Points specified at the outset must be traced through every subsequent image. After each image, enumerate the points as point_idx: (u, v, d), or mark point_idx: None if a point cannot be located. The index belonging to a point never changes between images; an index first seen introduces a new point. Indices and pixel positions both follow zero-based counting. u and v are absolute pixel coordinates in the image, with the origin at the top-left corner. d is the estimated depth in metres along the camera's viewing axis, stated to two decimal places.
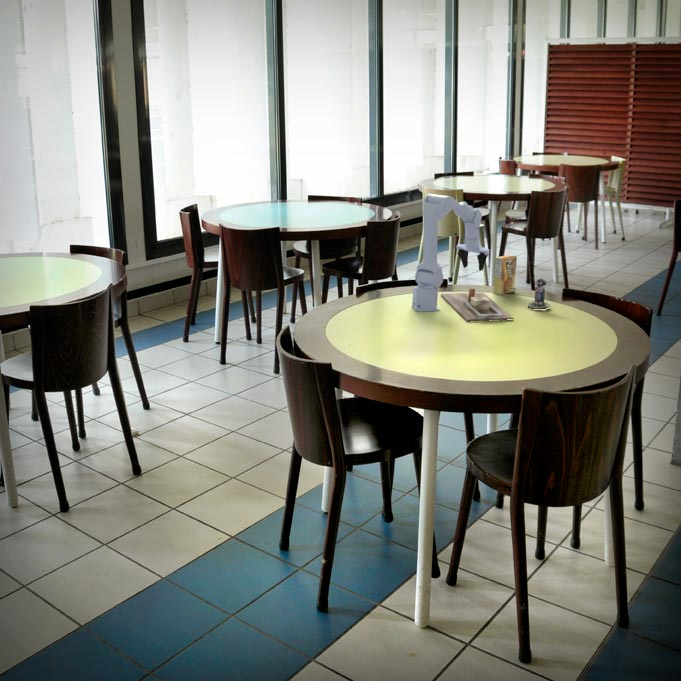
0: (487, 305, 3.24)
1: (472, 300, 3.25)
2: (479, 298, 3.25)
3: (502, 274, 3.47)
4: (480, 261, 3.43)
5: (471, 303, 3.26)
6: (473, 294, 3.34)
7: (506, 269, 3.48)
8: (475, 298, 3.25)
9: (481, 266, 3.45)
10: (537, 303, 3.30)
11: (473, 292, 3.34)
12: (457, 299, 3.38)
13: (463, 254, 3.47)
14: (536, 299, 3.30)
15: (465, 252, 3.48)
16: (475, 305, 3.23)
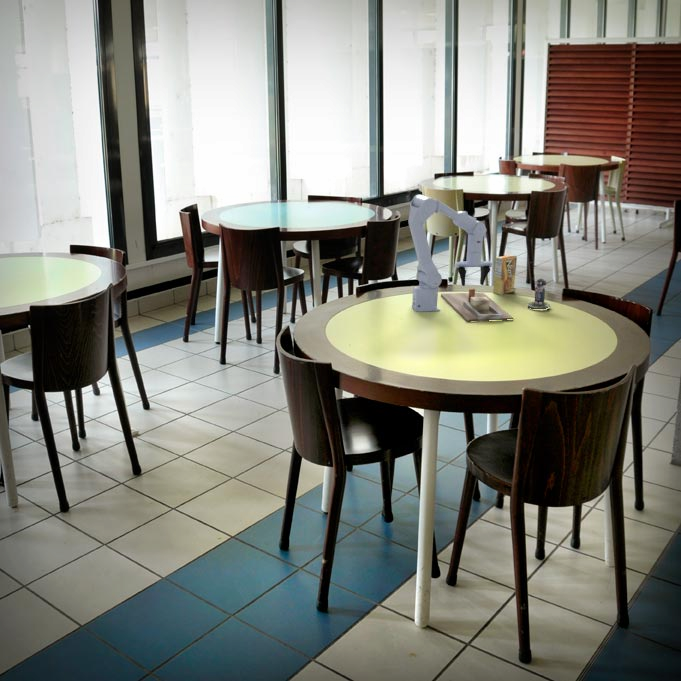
0: (487, 305, 3.24)
1: (472, 300, 3.25)
2: (479, 298, 3.25)
3: (502, 274, 3.47)
4: (486, 274, 3.31)
5: (471, 303, 3.26)
6: (473, 294, 3.34)
7: (506, 269, 3.48)
8: (475, 298, 3.25)
9: None
10: (537, 303, 3.30)
11: (473, 292, 3.34)
12: (457, 299, 3.38)
13: None
14: (536, 299, 3.30)
15: None
16: (475, 305, 3.23)
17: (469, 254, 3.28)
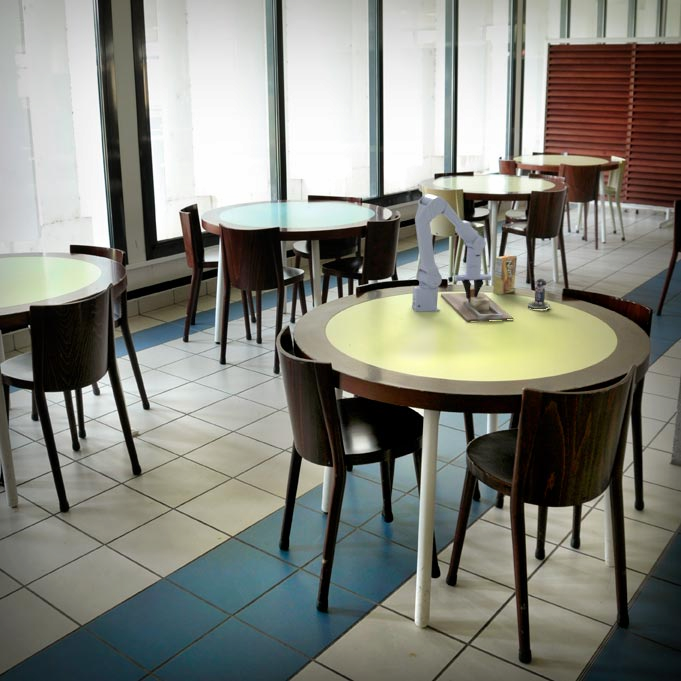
0: (487, 305, 3.24)
1: (472, 300, 3.25)
2: (479, 298, 3.25)
3: (502, 274, 3.47)
4: (479, 288, 3.33)
5: (471, 303, 3.26)
6: (473, 294, 3.34)
7: (506, 269, 3.48)
8: (475, 298, 3.25)
9: None
10: (537, 303, 3.30)
11: (473, 292, 3.34)
12: (457, 299, 3.38)
13: None
14: (536, 299, 3.30)
15: None
16: (475, 305, 3.23)
17: (468, 267, 3.30)
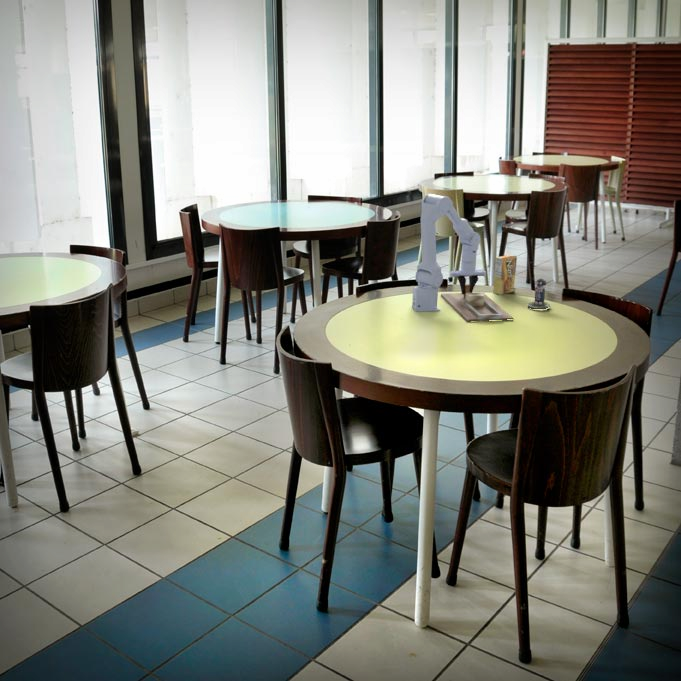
0: (482, 300, 3.29)
1: (467, 296, 3.31)
2: (474, 294, 3.31)
3: (502, 274, 3.47)
4: (474, 284, 3.39)
5: (466, 299, 3.32)
6: (468, 290, 3.40)
7: (506, 269, 3.48)
8: (470, 294, 3.31)
9: None
10: (537, 303, 3.30)
11: (468, 288, 3.40)
12: (457, 299, 3.38)
13: None
14: (536, 299, 3.30)
15: None
16: (470, 301, 3.29)
17: (463, 264, 3.36)
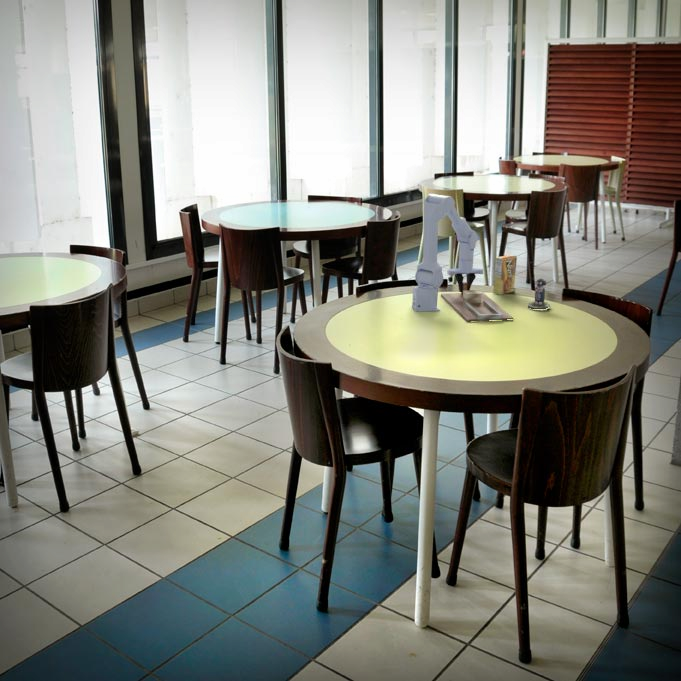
0: (479, 298, 3.33)
1: (464, 293, 3.34)
2: (471, 291, 3.34)
3: (502, 274, 3.47)
4: (471, 281, 3.42)
5: (464, 296, 3.35)
6: (466, 288, 3.43)
7: (506, 269, 3.48)
8: (467, 291, 3.34)
9: None
10: (537, 303, 3.30)
11: (466, 286, 3.43)
12: (457, 299, 3.38)
13: None
14: (536, 299, 3.30)
15: None
16: (467, 298, 3.32)
17: (461, 262, 3.39)
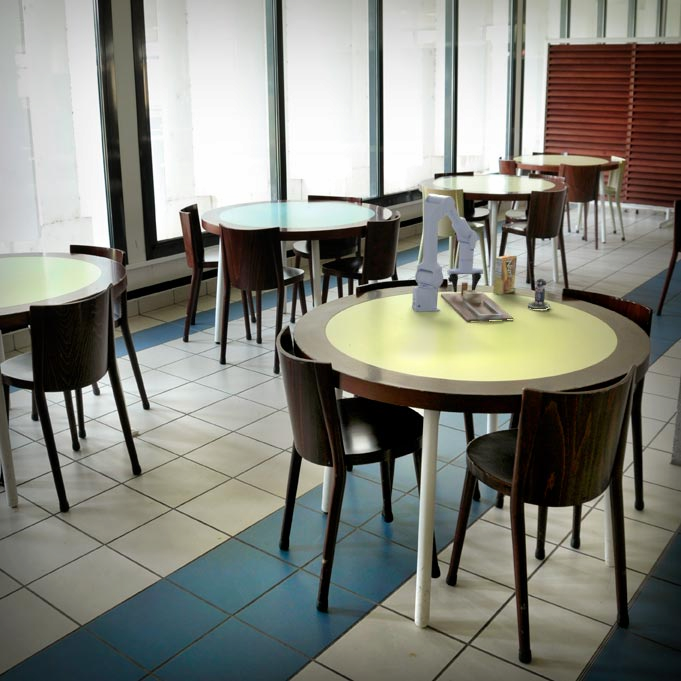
0: (479, 298, 3.33)
1: (464, 293, 3.34)
2: (471, 291, 3.34)
3: (502, 274, 3.47)
4: (477, 281, 3.42)
5: (464, 296, 3.35)
6: (466, 288, 3.43)
7: (506, 269, 3.48)
8: (467, 291, 3.34)
9: None
10: (537, 303, 3.30)
11: (466, 286, 3.43)
12: (457, 299, 3.38)
13: None
14: (536, 299, 3.30)
15: None
16: (467, 298, 3.32)
17: (461, 262, 3.39)
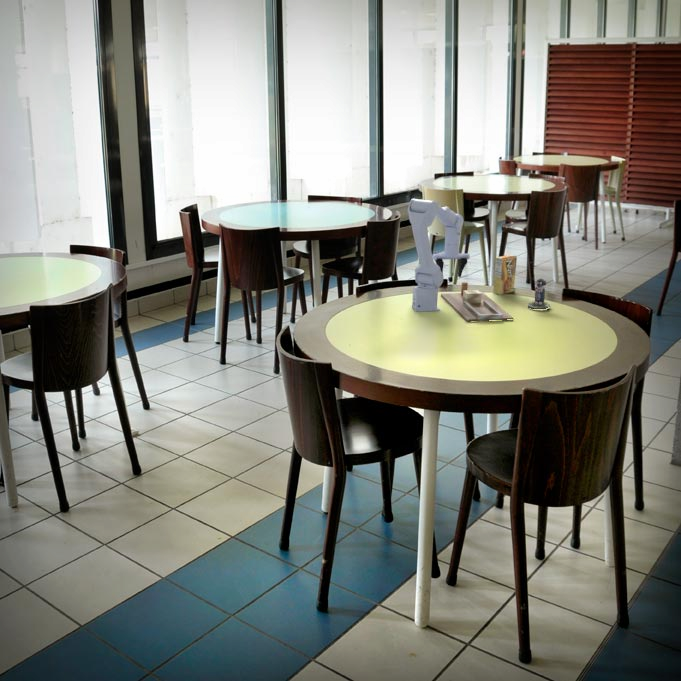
0: (479, 298, 3.33)
1: (464, 293, 3.34)
2: (471, 291, 3.34)
3: (502, 274, 3.47)
4: (463, 266, 3.37)
5: (464, 296, 3.35)
6: (466, 288, 3.43)
7: (506, 269, 3.48)
8: (467, 291, 3.34)
9: None
10: (537, 303, 3.30)
11: (466, 286, 3.43)
12: (457, 299, 3.38)
13: None
14: (536, 299, 3.30)
15: None
16: (467, 298, 3.32)
17: (446, 246, 3.34)
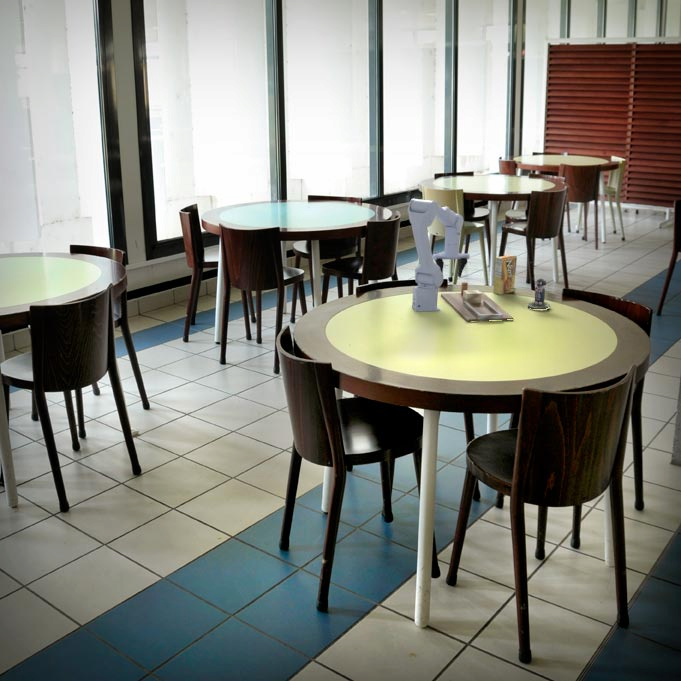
0: (479, 298, 3.33)
1: (464, 293, 3.34)
2: (471, 291, 3.34)
3: (502, 274, 3.47)
4: (463, 266, 3.37)
5: (464, 296, 3.35)
6: (466, 288, 3.43)
7: (506, 269, 3.48)
8: (467, 291, 3.34)
9: None
10: (537, 303, 3.30)
11: (466, 286, 3.43)
12: (457, 299, 3.38)
13: None
14: (536, 299, 3.30)
15: None
16: (467, 298, 3.32)
17: (446, 246, 3.34)
